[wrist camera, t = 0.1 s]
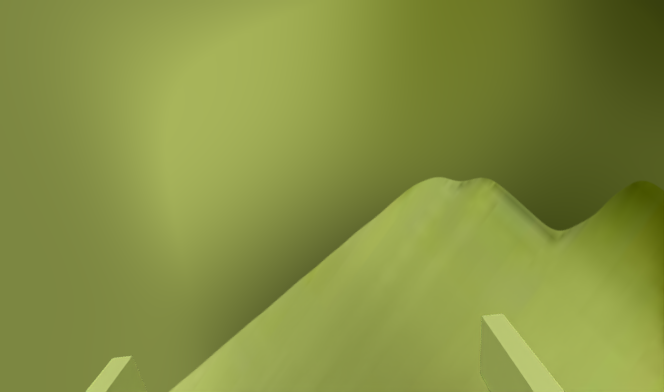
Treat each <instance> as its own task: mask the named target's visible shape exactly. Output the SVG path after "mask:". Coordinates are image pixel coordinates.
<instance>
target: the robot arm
mask: <svg viewBox="0 0 664 392" xmlns="http://www.w3.org/2000/svg"><path fill="white" fill-rule="evenodd" d="M480 374H481V376H482V378H483V380H484V382H485V383H486V385H487V387H488V389H489V391H490V392H564V390H563V389H562V388H561V386H560V385H559V384H558V383H557V381H556V380H555V379H554V378H553V376H552V375H551V374H550V373H549V371H548V370H547V369H546V368H545V366H544V365H543V364H542V362H541V361H540V360H539V359H538V357H537V356H536V355H535V354H534V352H533V351H532V350H531V349H530V347H529V346H528V345H527V344H526V342H525V341H524V340H523V338H522V337H521V336H520V335H519V333H518V332H517V331H516V330H515V328H514V327H513V326H512V325H511V323H510V322H509V321H508V319H507V318H506V317H505V316H504V314H494V315H485V316H482V321H481V355H480ZM86 392H148V391H147V389H146V387H145V384H144V382H143V380H142V377H141V375H140V373H139V370H138V368H137V366H136V363H135V361H134V359H133V357H132V356H128V357H118V358H112V360H111V361H110V362H109V363H108V365H107V366H106V367H105V368H104V369H103V371H102V372H101V373H100V374H99V376H98V377H97V378H96V379H95V381H94V382H93V383H92V384H91V386H90V387H89V388H88V389H87V390H86Z"/></svg>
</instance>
